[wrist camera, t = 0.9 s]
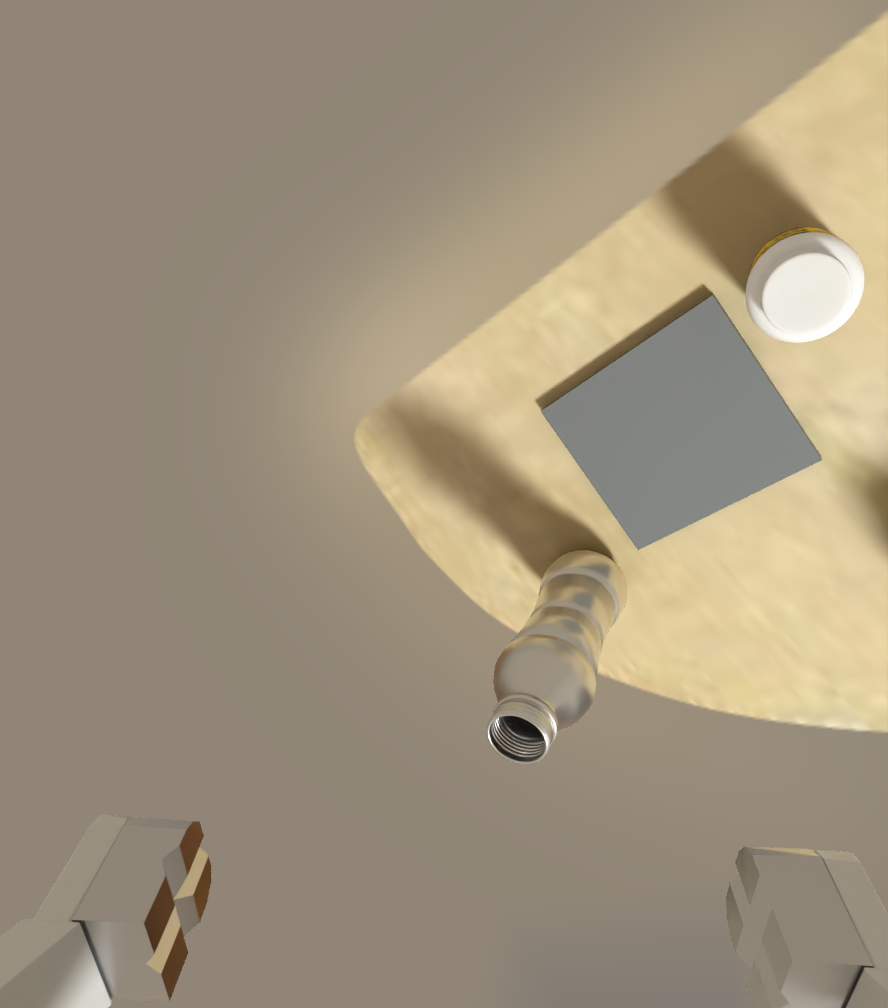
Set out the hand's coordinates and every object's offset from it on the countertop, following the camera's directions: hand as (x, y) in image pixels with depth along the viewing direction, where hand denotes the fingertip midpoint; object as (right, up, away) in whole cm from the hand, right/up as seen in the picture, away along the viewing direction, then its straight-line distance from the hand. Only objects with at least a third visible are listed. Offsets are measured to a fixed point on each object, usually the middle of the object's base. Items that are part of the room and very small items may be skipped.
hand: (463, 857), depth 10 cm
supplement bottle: (+22, +20, +32) cm, 43 cm away
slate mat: (+16, +11, +38) cm, 43 cm away
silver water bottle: (+12, -1, +45) cm, 47 cm away
